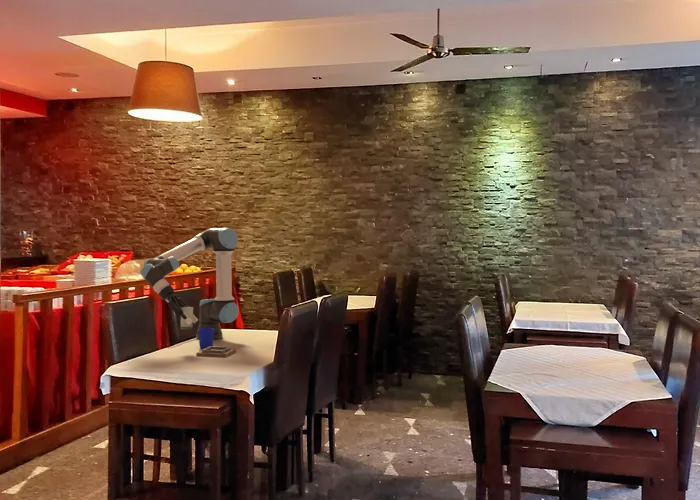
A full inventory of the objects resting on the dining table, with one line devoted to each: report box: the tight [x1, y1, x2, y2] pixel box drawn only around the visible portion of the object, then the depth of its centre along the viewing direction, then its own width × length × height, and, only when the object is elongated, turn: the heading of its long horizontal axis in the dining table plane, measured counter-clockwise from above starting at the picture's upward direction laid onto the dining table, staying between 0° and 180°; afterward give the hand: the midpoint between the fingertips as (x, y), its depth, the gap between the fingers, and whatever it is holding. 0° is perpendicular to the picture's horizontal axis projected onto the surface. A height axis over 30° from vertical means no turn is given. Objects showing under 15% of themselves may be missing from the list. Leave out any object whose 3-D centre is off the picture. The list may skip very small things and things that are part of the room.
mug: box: [198, 328, 214, 349], centre depth 327 cm, size 8×12×10 cm
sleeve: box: [180, 306, 194, 331], centre depth 311 cm, size 6×6×11 cm
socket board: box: [195, 345, 237, 358], centre depth 307 cm, size 15×15×3 cm
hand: (193, 322), depth 311 cm, fingers closed on sleeve, 6 cm apart
